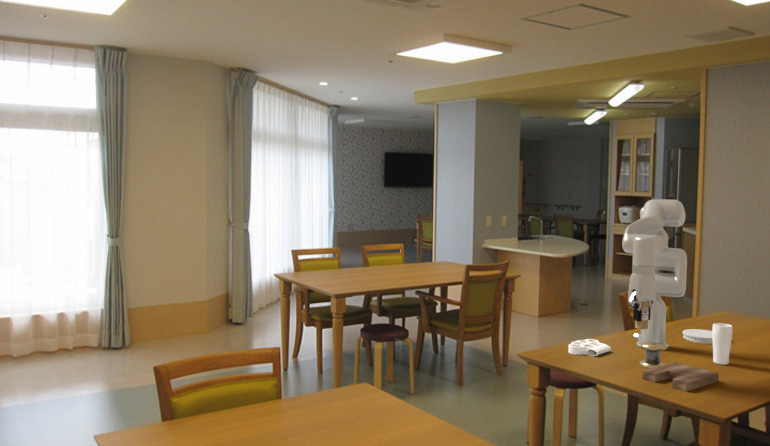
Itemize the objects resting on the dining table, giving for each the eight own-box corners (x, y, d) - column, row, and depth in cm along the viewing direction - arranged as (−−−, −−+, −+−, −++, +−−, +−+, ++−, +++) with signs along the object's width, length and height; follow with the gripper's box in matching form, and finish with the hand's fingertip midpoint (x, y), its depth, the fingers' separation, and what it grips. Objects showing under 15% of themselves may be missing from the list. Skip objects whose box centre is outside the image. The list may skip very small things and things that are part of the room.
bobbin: (634, 364, 235) (635, 343, 235) (648, 360, 240) (649, 340, 239) (656, 370, 227) (657, 349, 227) (670, 366, 232) (671, 345, 232)
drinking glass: (733, 366, 234) (735, 327, 233) (714, 365, 235) (715, 326, 234) (727, 361, 241) (729, 323, 240) (708, 360, 242) (710, 322, 241)
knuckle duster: (592, 359, 243) (559, 351, 253) (614, 351, 255) (582, 344, 265) (593, 351, 242) (560, 343, 253) (614, 343, 255) (582, 337, 265)
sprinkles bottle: (641, 330, 222) (642, 293, 221) (631, 327, 226) (633, 291, 225) (651, 329, 223) (652, 292, 223) (641, 326, 228) (642, 290, 227)
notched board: (642, 378, 217) (642, 370, 217) (675, 370, 228) (675, 362, 228) (685, 391, 204) (686, 382, 204) (718, 381, 215) (718, 373, 215)
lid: (739, 345, 267) (740, 338, 267) (693, 344, 268) (693, 337, 267) (718, 335, 285) (719, 329, 284) (675, 335, 285) (675, 328, 285)
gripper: (648, 267, 231) (646, 315, 232) (619, 270, 222) (617, 320, 223) (666, 270, 225) (664, 319, 226) (638, 273, 216) (636, 324, 217)
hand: (641, 319), depth 224 cm, fingers closed on sprinkles bottle, 4 cm apart
